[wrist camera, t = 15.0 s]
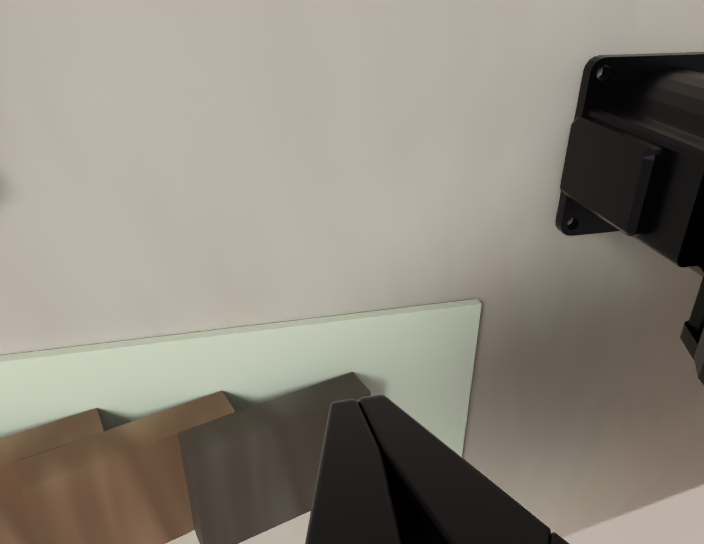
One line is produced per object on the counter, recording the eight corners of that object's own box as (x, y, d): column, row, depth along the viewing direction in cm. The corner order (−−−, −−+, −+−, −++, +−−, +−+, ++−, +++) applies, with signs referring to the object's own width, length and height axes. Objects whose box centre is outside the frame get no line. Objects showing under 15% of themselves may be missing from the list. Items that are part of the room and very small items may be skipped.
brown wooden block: (235, 411, 22) (21, 490, 18) (246, 506, 24) (58, 591, 21) (221, 390, 23) (17, 461, 19) (233, 483, 25) (52, 560, 22)
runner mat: (477, 298, 24) (481, 304, 24) (455, 476, 29) (458, 482, 28) (-372, 399, 18) (-383, 408, 18) (-224, 600, 23) (-230, 610, 23)
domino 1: (103, 431, 21) (-146, 515, 18) (128, 528, 23) (-87, 617, 20) (96, 407, 22) (-140, 483, 19) (121, 502, 24) (-85, 583, 21)
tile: (370, 391, 23) (188, 459, 20) (368, 484, 25) (205, 558, 22) (352, 371, 24) (177, 432, 21) (351, 462, 26) (194, 529, 23)
